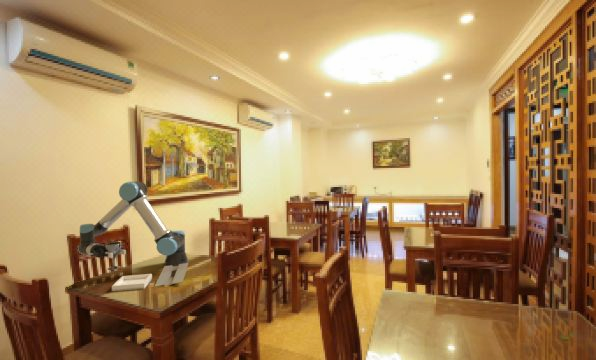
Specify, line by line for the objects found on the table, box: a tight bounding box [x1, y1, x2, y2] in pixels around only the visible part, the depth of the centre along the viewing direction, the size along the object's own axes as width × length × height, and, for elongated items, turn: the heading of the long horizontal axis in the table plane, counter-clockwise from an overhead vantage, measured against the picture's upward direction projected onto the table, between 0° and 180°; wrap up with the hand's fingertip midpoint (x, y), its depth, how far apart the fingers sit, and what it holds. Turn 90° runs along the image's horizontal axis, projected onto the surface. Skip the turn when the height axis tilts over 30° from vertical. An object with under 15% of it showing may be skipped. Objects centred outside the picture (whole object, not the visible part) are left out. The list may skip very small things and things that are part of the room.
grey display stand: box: [154, 262, 190, 287], centre depth 174 cm, size 16×9×15 cm
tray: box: [111, 273, 153, 292], centre depth 168 cm, size 16×16×3 cm
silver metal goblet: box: [105, 241, 122, 271], centre depth 177 cm, size 8×8×15 cm
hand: (118, 253), depth 175 cm, fingers closed on silver metal goblet, 7 cm apart
